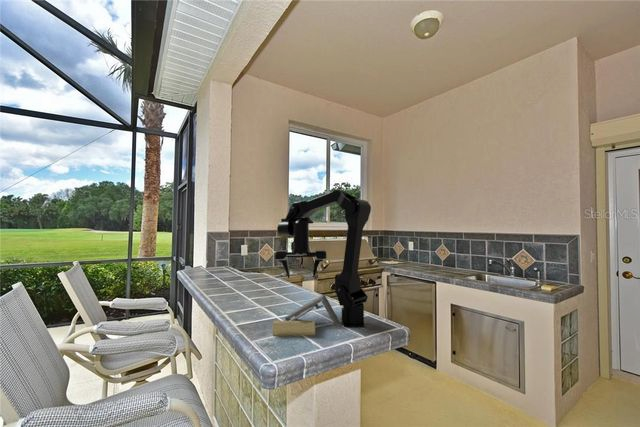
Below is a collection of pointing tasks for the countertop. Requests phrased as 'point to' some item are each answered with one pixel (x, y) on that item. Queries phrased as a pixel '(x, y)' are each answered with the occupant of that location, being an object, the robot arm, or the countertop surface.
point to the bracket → (310, 306)
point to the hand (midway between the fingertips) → (301, 278)
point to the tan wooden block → (293, 328)
